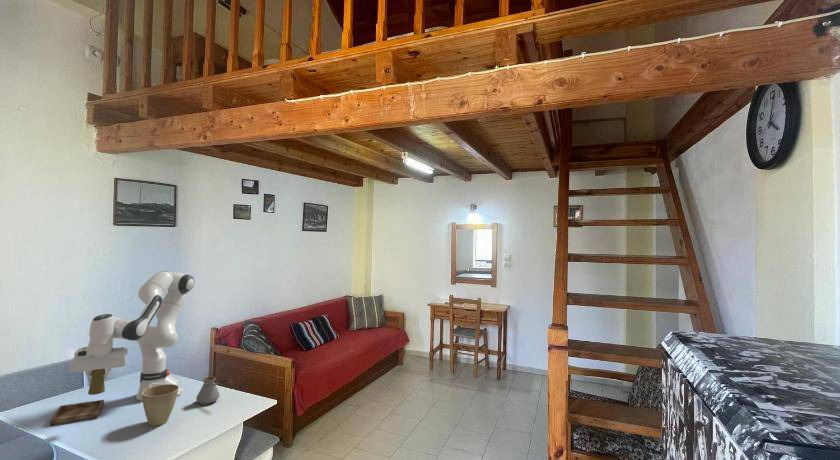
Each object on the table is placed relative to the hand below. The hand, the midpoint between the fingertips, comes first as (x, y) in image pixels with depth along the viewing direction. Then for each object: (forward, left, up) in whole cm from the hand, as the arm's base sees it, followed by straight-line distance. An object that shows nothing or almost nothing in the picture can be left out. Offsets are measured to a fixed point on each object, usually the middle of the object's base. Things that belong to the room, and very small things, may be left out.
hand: (97, 378), depth 171 cm
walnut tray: (+9, -19, -23) cm, 31 cm away
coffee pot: (-50, -4, -23) cm, 56 cm away
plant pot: (-25, +8, -23) cm, 35 cm away
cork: (0, 0, -7) cm, 7 cm away
